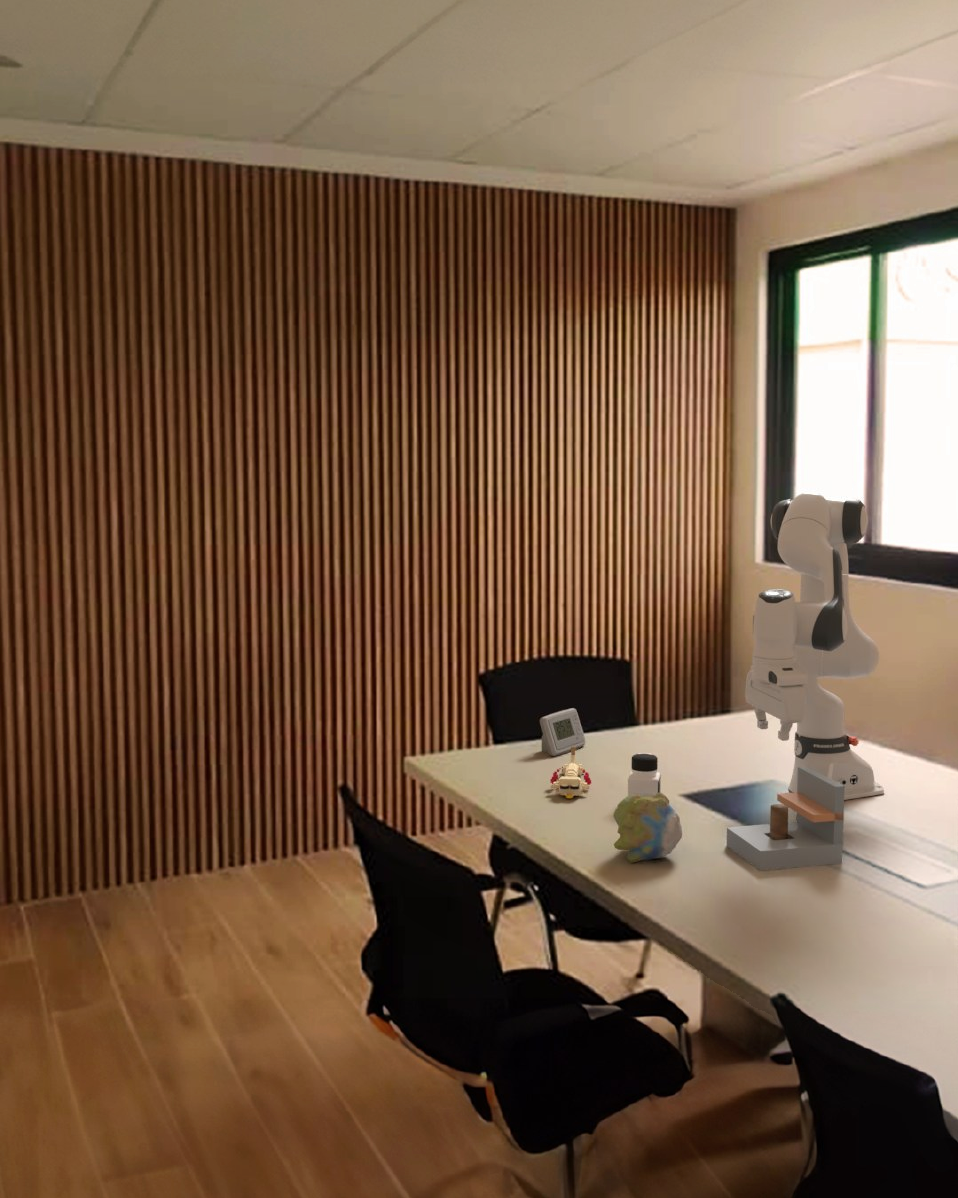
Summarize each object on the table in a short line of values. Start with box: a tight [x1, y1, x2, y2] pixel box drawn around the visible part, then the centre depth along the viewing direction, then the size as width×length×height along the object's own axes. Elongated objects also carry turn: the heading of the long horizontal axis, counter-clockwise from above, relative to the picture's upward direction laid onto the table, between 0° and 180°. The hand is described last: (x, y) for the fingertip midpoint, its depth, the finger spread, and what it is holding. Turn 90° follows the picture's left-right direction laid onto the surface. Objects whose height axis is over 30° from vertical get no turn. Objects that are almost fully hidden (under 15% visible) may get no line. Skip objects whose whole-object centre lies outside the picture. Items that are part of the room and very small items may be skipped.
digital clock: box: [539, 707, 587, 757], centre depth 352 cm, size 16×9×11 cm, turn 130°
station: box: [726, 766, 845, 871], centre depth 264 cm, size 18×16×16 cm
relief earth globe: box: [613, 792, 683, 864], centre depth 263 cm, size 14×16×15 cm
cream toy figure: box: [550, 746, 592, 799], centre depth 316 cm, size 10×9×25 cm
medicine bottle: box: [627, 752, 662, 796], centre depth 300 cm, size 7×7×12 cm
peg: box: [769, 803, 790, 840], centre depth 264 cm, size 4×4×10 cm
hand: (772, 734), depth 266 cm, fingers open, 8 cm apart
